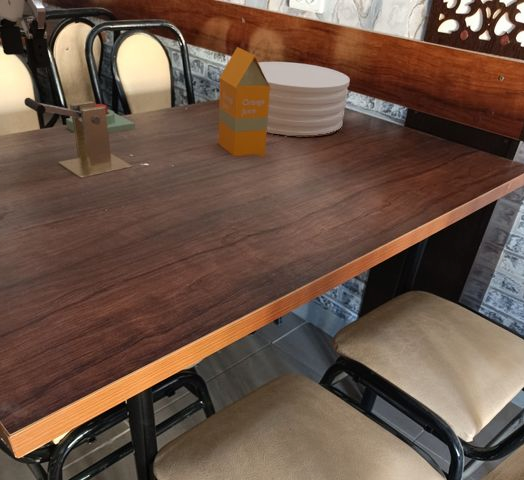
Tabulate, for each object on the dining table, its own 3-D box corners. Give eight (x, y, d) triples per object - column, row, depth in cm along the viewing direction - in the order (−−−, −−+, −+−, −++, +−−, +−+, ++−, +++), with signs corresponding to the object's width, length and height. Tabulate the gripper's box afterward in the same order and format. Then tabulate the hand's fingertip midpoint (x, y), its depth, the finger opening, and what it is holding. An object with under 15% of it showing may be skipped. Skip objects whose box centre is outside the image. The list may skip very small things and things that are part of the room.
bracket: (81, 183, 94) (70, 116, 87) (59, 168, 99) (47, 103, 92) (132, 171, 100) (127, 108, 93) (109, 157, 105) (102, 96, 98)
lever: (36, 116, 85) (37, 100, 84) (23, 108, 88) (24, 93, 86) (101, 127, 94) (103, 114, 93) (88, 120, 96) (89, 107, 95)
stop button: (96, 117, 114) (95, 109, 113) (88, 113, 116) (87, 105, 115) (110, 115, 116) (109, 107, 115) (102, 111, 118) (101, 103, 117)
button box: (88, 140, 112) (86, 122, 110) (67, 128, 117) (64, 110, 115) (135, 132, 119) (134, 114, 116) (113, 121, 124) (111, 103, 122)
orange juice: (248, 144, 118) (253, 46, 106) (265, 157, 113) (273, 55, 100) (217, 147, 115) (219, 46, 103) (233, 160, 109) (237, 55, 97)
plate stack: (362, 126, 137) (371, 79, 130) (294, 144, 121) (300, 92, 113) (286, 101, 151) (290, 58, 144) (216, 115, 135) (217, 67, 128)
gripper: (-48, -84, 74) (-18, 50, 85) (0, -74, 65) (26, 74, 76) (4, -78, 78) (26, 48, 89) (56, -69, 69) (74, 71, 80)
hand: (26, 60), depth 82 cm, fingers open, 9 cm apart
